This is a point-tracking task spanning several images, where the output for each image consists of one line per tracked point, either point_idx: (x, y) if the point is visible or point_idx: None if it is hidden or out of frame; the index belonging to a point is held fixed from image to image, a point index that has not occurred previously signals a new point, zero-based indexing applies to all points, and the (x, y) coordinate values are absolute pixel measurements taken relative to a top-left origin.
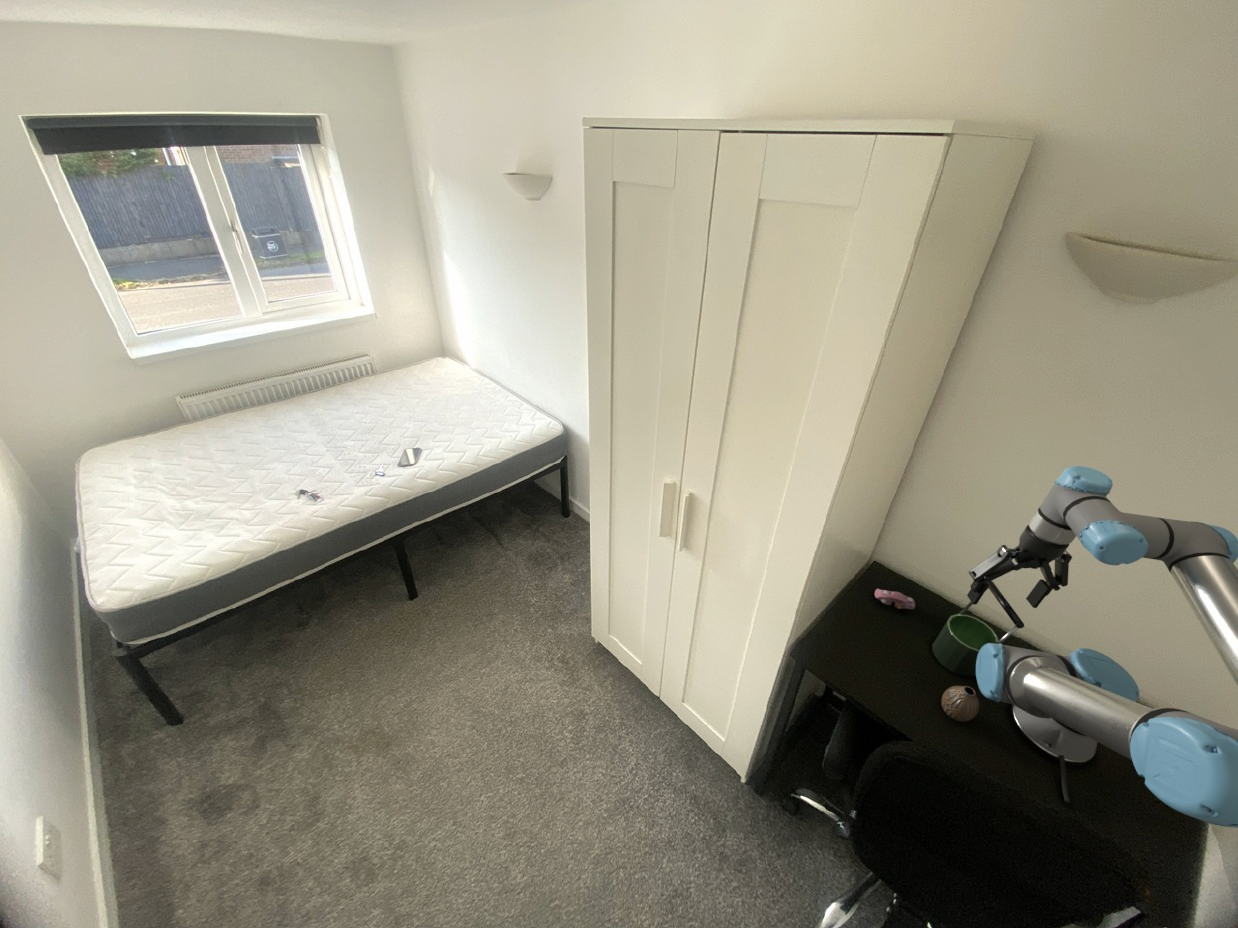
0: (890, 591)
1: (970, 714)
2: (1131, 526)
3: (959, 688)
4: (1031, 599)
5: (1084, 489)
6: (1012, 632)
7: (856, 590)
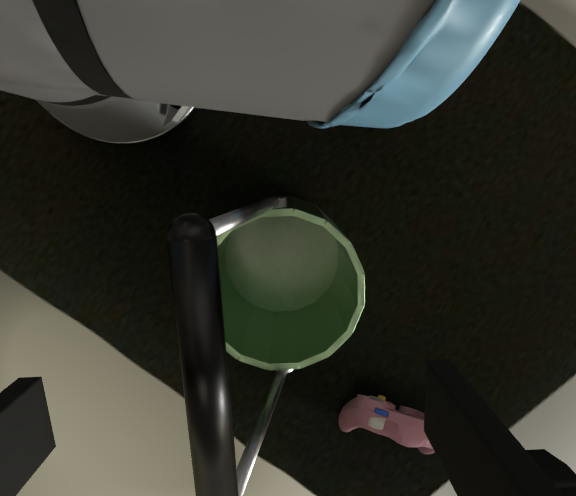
0: (429, 445)
1: None
2: None
3: None
4: (28, 438)
5: None
6: (221, 217)
7: None
